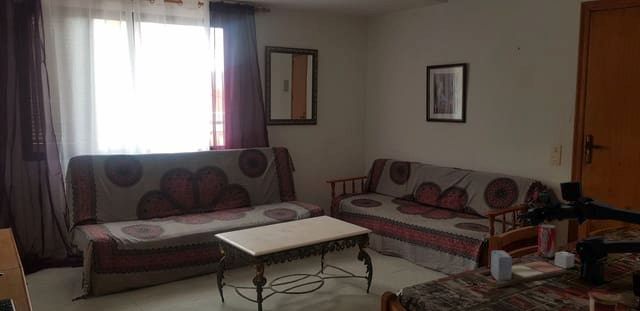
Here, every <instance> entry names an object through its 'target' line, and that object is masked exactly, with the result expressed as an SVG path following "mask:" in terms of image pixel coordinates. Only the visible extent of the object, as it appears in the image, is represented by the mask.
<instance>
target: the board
mask: <svg viewBox="0 0 640 311" xmlns="http://www.w3.org/2000/svg"><path fill="white" fill-rule="evenodd" d="M568 272H569V271H568V270H567V269H566V268H563V267H560V266H557V265H555V264H550V263H549V262H548V263H547V262H545V261H542V260H535V261H528V262H524V263H518V264H512V274H511V277H514V278H511V279H510V280H505V281H500V282H498V281H497V280H494V279H492V278H490V277H487V275H488V276H489V275H491V268H487V269H483V270H476V271H472V272H470V277H473V278H475V279H476V280H479V281H482V282H483V283H486V284H488V285H490V284H491V285H490V286H492V285H493V287H494V288H497V289H499V288H503V287H508V286H513V285H517V284H522V283H523V284H524V283H527V282H531V281H537V280H541V279H546V278H547V279H548V278H552V277H556V276H561V275H566V274H568Z"/></svg>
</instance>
